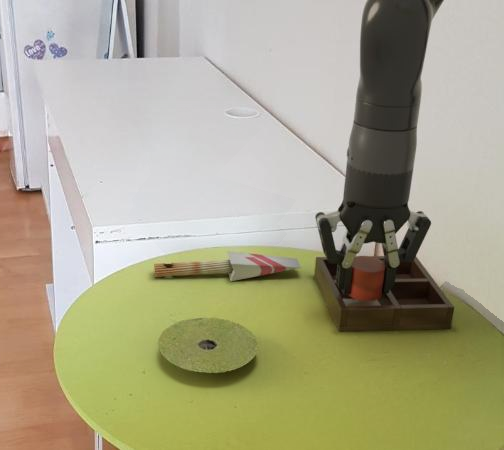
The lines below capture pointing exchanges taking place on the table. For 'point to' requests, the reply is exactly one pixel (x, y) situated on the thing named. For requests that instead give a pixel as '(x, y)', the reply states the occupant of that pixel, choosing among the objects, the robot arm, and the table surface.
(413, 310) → the grid
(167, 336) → the green disc
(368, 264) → the red cylinder
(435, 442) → the table surface
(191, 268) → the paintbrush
